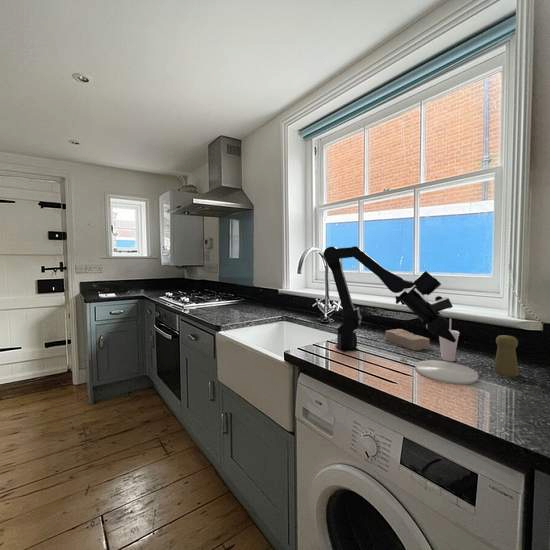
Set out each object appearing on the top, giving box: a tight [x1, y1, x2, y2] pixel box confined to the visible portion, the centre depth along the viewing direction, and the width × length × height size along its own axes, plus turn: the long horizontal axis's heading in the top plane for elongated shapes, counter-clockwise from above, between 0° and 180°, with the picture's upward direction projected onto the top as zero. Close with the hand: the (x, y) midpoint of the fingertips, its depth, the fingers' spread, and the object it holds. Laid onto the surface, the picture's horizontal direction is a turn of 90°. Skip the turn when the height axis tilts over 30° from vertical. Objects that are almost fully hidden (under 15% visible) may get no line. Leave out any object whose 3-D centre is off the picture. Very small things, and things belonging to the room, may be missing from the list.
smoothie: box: [438, 318, 460, 362], centre depth 99 cm, size 6×6×14 cm
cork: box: [492, 334, 520, 377], centre depth 87 cm, size 6×6×11 cm
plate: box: [414, 359, 479, 385], centre depth 87 cm, size 16×16×1 cm
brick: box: [385, 328, 431, 351], centre depth 118 cm, size 17×8×5 cm, turn 18°
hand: (453, 339), depth 98 cm, fingers closed on smoothie, 6 cm apart
